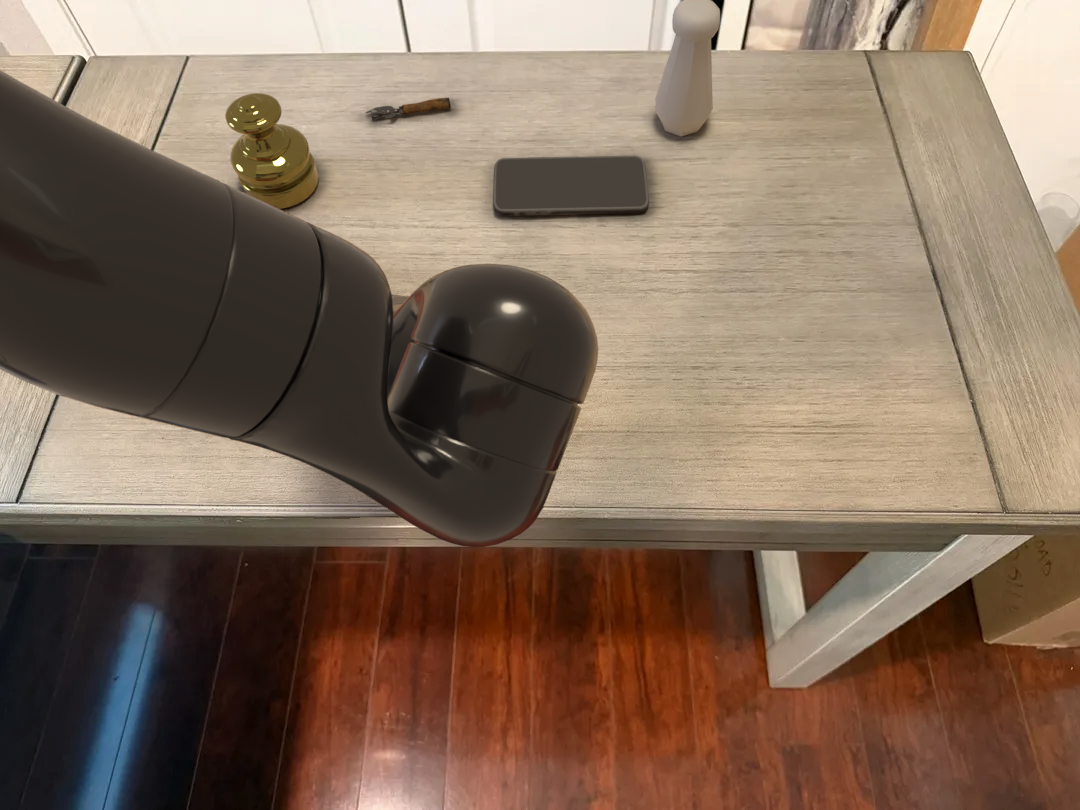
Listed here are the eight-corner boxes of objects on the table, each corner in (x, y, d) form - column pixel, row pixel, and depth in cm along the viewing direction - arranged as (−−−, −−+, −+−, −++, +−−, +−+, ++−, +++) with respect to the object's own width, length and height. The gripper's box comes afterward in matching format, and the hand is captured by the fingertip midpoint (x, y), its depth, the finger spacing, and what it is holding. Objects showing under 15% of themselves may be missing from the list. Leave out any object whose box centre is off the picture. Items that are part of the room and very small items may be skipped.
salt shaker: (719, 133, 83) (742, 17, 72) (668, 148, 82) (684, 33, 71) (692, 97, 86) (711, -20, 75) (643, 112, 85) (655, -4, 74)
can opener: (451, 103, 86) (449, 94, 85) (451, 118, 85) (450, 109, 84) (366, 110, 86) (363, 101, 85) (365, 125, 85) (363, 116, 84)
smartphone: (650, 209, 77) (492, 212, 77) (649, 215, 78) (493, 218, 78) (644, 153, 81) (493, 156, 81) (643, 160, 82) (494, 163, 82)
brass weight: (306, 215, 79) (274, 134, 71) (234, 207, 80) (194, 126, 71) (329, 161, 83) (301, 78, 74) (259, 154, 84) (224, 71, 75)
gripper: (472, 246, 47) (406, 253, 63) (244, 362, 43) (235, 338, 59) (526, 360, 49) (449, 339, 65) (313, 480, 45) (287, 426, 61)
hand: (347, 339), depth 62 cm, fingers closed on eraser, 3 cm apart
